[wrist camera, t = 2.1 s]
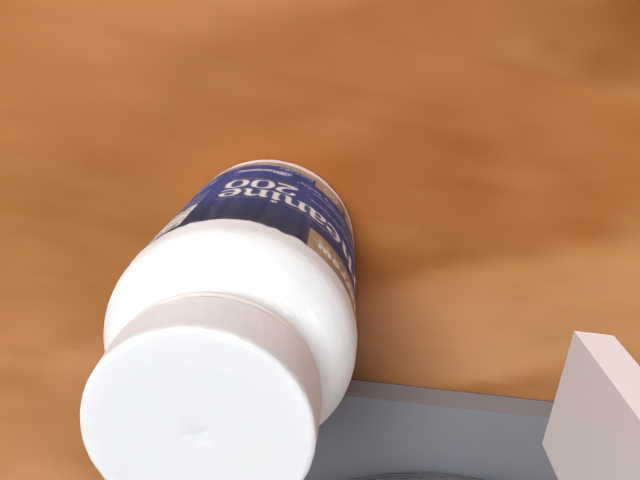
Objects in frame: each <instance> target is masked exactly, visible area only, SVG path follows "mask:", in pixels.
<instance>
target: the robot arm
mask: <svg viewBox="0 0 640 480" xmlns="http://www.w3.org/2000/svg"><path fill="white" fill-rule="evenodd" d="M542 445H543V447H544V449H545V452H546V454H547V456H548V458H549V460H550V463H551V465H552V467H553V469H554V471H555V474H556V476H557V478H558V480H640V366H639V365H638V364H637V363H636V362H635V360H634V359H633V358H632V357H631V356H630V355H629V353H628V352H627V351H626V350H625V349H624V347H623V346H622V345H621V344H620V343H619V342H618V340H617V339H616V338H615V337H614V336H613V335H605V334H596V333H587V332H579V331H574V334H573V338H572V341H571V345H570V348H569V352H568V355H567V359H566V362H565V366H564V369H563V372H562V376H561V379H560V383H559V386H558V390H557V393H556V397H555V400H554V404H553V407H552V411H551V414H550V418H549V421H548V425H547V428H546V432H545V435H544V439H543V442H542Z"/></svg>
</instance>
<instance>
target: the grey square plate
mask: <svg viewBox="0 0 640 480" xmlns="http://www.w3.org/2000/svg"><path fill="white" fill-rule="evenodd" d="M553 404H554V402H549V401H540V400H531V399H522V398H513V397H504V396H495V395H486V394H477V393H468V392H459V391H450V390H441V389H432V388H423V387H414V386H405V385H396V384H387V383H378V382H369V381H360V380H351V381H350V383H349V386H348V388H347V390H346V392H345V394H344V396H343V398H342V400H341V401H340V403H339V405H338V406H337V407H336V409H335V410H334V411H333V412H332V414H331V415H330V416H329V417H328V418H327V419H326V420H325V421H324V422H323V423H322V424H321V425H320V426H319V430H318V437H317V443H316V449H315V454H314V457H313V461H312V464H311V467H310V469H309V471H308V473H307V475H306V476H305V478H304V479H303V480H353V479H358V478H364V477H371V476H377V475H384V474H397V473H419V472H421V473H438V474H453V475H459V476H465V477H471V478H477V479H483V480H558V478H557V476H556V474H555V471H554V469H553V467H552V465H551V463H550V460H549V458H548V456H547V454H546V452H545V449H544V447H543V445H542V442H543V439H544V435H545V432H546V428H547V425H548V421H549V418H550V414H551V411H552V407H553Z"/></svg>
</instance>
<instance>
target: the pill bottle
mask: <svg viewBox="0 0 640 480" xmlns="http://www.w3.org/2000/svg"><path fill="white" fill-rule="evenodd" d="M104 349H105V354H104V355H103V356H102V358H101V359H100V361H99V362H98V364H97V365H96V367H95V368H94V370H93V372H92V374H91V375H90V377H89V379H88V381H87V383H86V386H85V389H84V392H83V395H82V401H81V407H80V426H81V433H82V438H83V442H84V445H85V447H86V450H87V452H88V454H89V457H90V459H91V461H92V462H93V464H94V465H95V467H96V468H97V469H98V471H99V472H100V473H101V475H102V476H103V477H104V479H105V480H303V479H304V478H305V476H306V475H307V473H308V471H309V469H310V467H311V464H312V461H313V457H314V454H315V449H316V443H317V437H318V430H319V426H320V425H321V424H322V423H323V422H324V421H325V420H326V419H327V418H328V417H329V416H330V415H331V414H332V412H333V411H334V410H335V409H336V407H337V406H338V405H339V403H340V401H341V400H342V398H343V396H344V394H345V392H346V390H347V388H348V386H349V383H350V381H351V377H352V374H353V370H354V366H355V360H356V350H357V317H356V280H355V246H354V237H353V230H352V225H351V221H350V218H349V215H348V213H347V210H346V208H345V206H344V204H343V202H342V201H341V199H340V198H339V196H338V195H337V193H336V192H335V191H334V190H333V189H332V188H331V187H330V186H329V185H328V184H327V183H326V182H325V181H324V180H323V179H321V178H320V177H319V176H317V175H316V174H314V173H313V172H311V171H309V170H307V169H305V168H303V167H300V166H298V165H295V164H292V163H287V162H282V161H279V160H255V161H249V162H245V163H241V164H238V165H236V166H234V167H232V168H230V169H228V170H226V171H224V172H222V173H220V174H219V175H218V176H216V177H215V178H214V179H213V180H211V181H210V182H209V183H208V184H207V185H206V186H205V187H203V188H202V189H201V191H200V192H199V193H198V194H197V195H196V196H195V197H194V198H193V199H192V200H191V201H190V202H189V203H188V204H187V205H186V206H185V207H184V208H183V209H182V210H181V211H180V212H179V213H178V214H177V215H176V216H175V217H174V218H173V219H172V220H171V221H170V222H169V224H168V225H166V226H165V227H164V228H163V230H162V231H161V232H160V233H159V234H158V235H157V236H156V237H155V238H154V239H153V240H152V241H151V242H150V243H149V244H148V245H147V246H146V247H145V248H144V249H143V250H142V251H141V252H140V253H139V254H138V255H137V256H136V258H135V259H134V260H133V261H132V262H131V263H130V265H129V266H128V267H127V269H126V270H125V272H124V273H123V275H122V276H121V278H120V279H119V281H118V282H117V284H116V286H115V289H114V291H113V293H112V295H111V298H110V301H109V303H108V307H107V311H106V315H105V322H104Z"/></svg>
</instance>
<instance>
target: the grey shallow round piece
mask: <svg viewBox="0 0 640 480" xmlns="http://www.w3.org/2000/svg"><path fill="white" fill-rule="evenodd" d="M353 480H483V479H477V478H471V477H465V476H459V475H453V474H438V473H421V472H419V473H397V474H384V475H377V476H371V477H364V478H358V479H353Z"/></svg>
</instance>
